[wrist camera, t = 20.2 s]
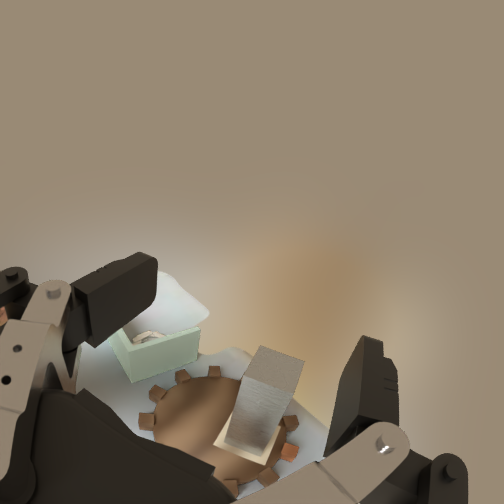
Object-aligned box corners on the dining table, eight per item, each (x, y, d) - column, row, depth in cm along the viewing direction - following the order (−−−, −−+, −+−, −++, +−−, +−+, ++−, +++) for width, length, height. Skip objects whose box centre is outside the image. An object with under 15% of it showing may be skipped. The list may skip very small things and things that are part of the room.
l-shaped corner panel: (196, 362, 46) (200, 329, 43) (132, 385, 38) (128, 351, 35) (162, 321, 54) (164, 289, 51) (105, 337, 46) (101, 303, 43)
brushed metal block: (223, 442, 31) (243, 375, 26) (238, 416, 36) (260, 345, 30) (260, 456, 30) (293, 393, 25) (271, 429, 35) (304, 361, 29)
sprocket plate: (108, 444, 28) (105, 437, 27) (188, 355, 47) (189, 347, 46) (267, 522, 22) (272, 519, 22) (310, 404, 41) (314, 397, 41)
